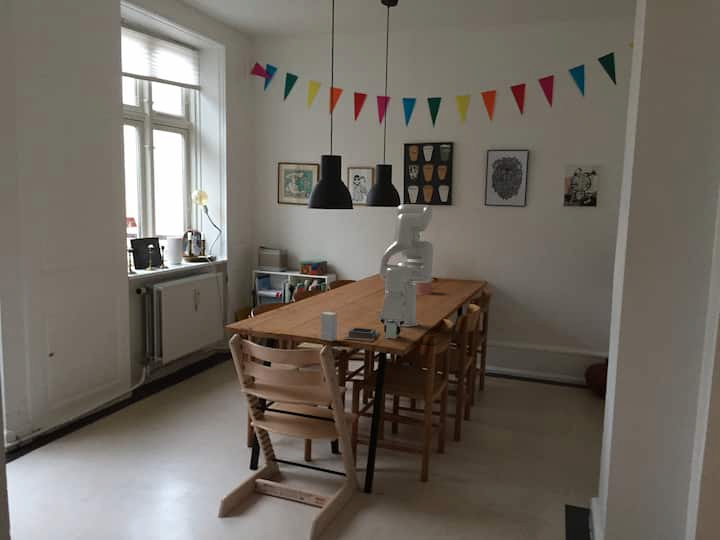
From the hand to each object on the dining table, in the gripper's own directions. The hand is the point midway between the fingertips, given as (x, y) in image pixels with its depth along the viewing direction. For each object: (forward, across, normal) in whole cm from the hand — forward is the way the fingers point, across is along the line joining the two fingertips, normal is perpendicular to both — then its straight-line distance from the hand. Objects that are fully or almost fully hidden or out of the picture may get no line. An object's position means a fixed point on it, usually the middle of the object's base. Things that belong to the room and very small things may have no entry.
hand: (392, 333), depth 262 cm
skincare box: (+2, +26, +14) cm, 30 cm away
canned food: (+3, +1, -124) cm, 124 cm away
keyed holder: (+1, +13, +4) cm, 14 cm away
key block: (+1, 0, 0) cm, 1 cm away
